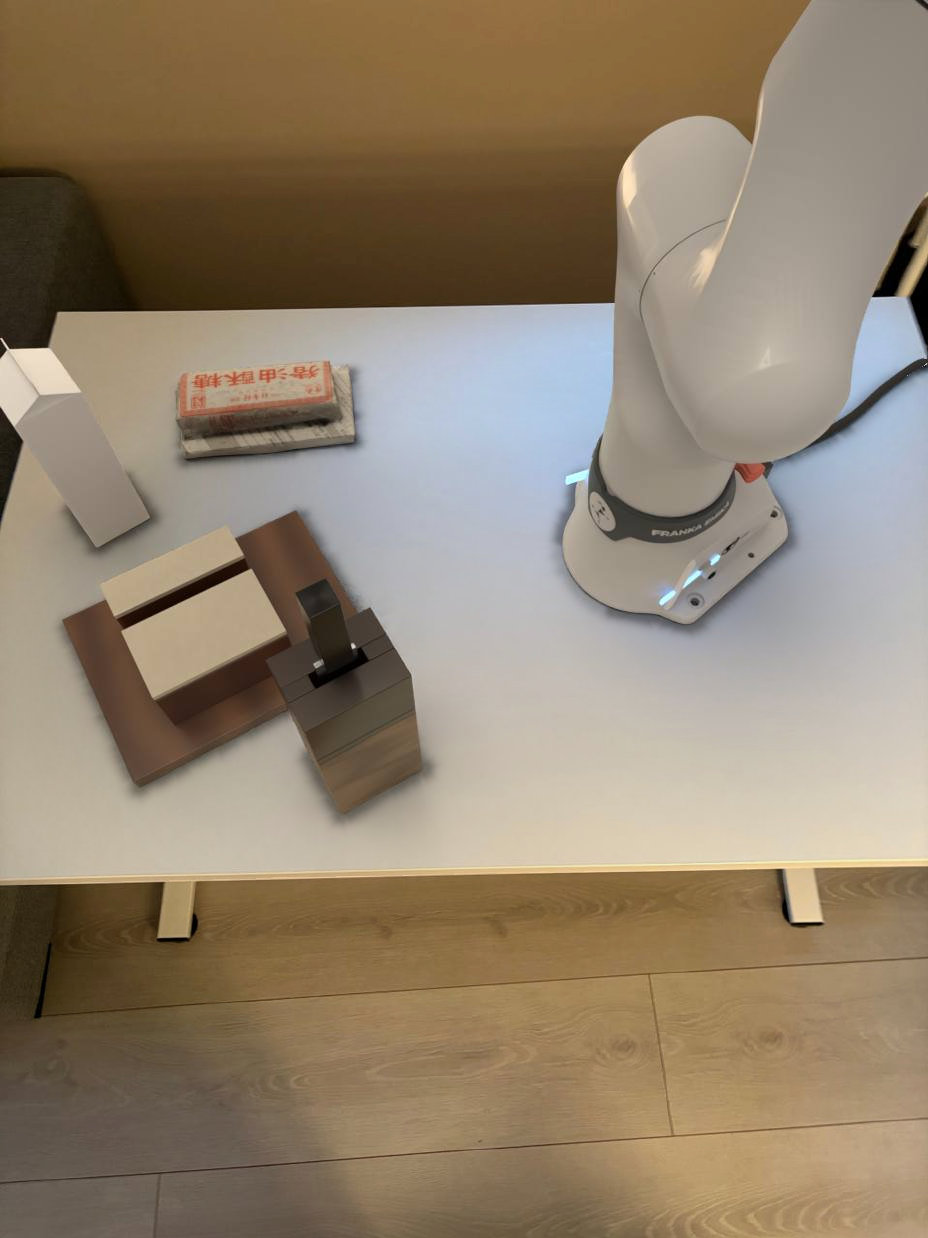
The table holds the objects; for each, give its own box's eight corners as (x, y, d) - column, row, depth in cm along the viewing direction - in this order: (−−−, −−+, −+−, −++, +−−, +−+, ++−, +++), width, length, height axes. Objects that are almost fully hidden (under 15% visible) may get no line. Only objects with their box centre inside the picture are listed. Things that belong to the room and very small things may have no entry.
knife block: (390, 713, 82) (370, 606, 64) (422, 769, 80) (412, 675, 61) (310, 757, 81) (265, 659, 62) (341, 815, 78) (304, 732, 60)
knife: (359, 679, 68) (333, 573, 53) (372, 701, 67) (349, 599, 53) (323, 699, 67) (286, 596, 53) (335, 721, 66) (301, 623, 52)
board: (298, 517, 92) (296, 509, 90) (383, 659, 85) (382, 653, 83) (67, 626, 86) (61, 619, 85) (138, 787, 79) (133, 782, 78)
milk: (97, 549, 90) (-6, 402, 70) (69, 507, 92) (-39, 353, 72) (152, 517, 92) (67, 365, 72) (124, 477, 94) (33, 318, 74)
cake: (265, 603, 86) (251, 568, 80) (298, 662, 83) (286, 630, 77) (144, 662, 83) (120, 631, 77) (174, 726, 80) (152, 698, 74)
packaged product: (170, 433, 90) (171, 356, 95) (183, 462, 95) (183, 388, 99) (352, 414, 91) (345, 339, 96) (357, 444, 96) (350, 371, 100)
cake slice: (242, 561, 88) (227, 524, 82) (258, 589, 86) (243, 554, 80) (123, 617, 85) (98, 584, 79) (137, 648, 83) (113, 616, 78)
